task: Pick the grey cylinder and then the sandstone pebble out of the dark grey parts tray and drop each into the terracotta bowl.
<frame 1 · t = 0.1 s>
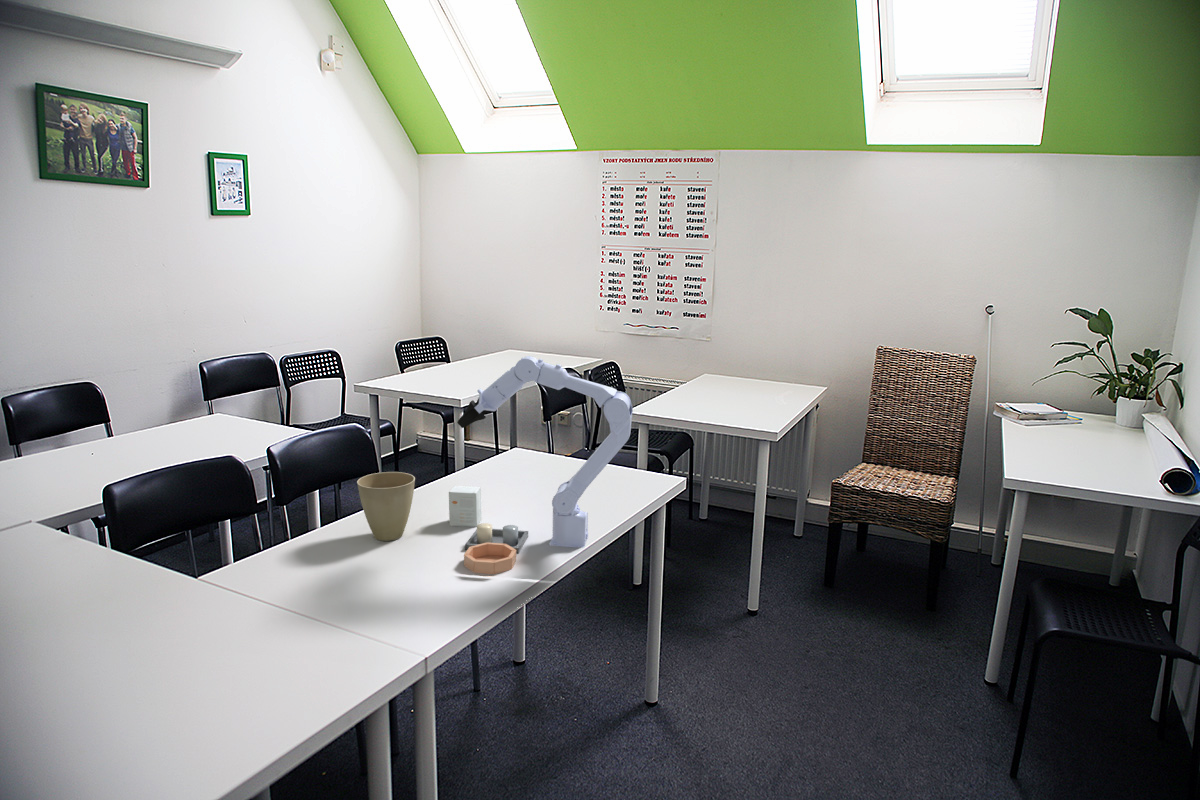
hand: (464, 421, 206), 32 cm above the table, tool tilted 50°, fingers open, 7 cm apart
tray: (497, 545, 206), on the table
plant pot: (388, 536, 211), on the table
pebble sand: (484, 542, 206), point 1 cm above the table, touching tray
small box: (465, 525, 220), on the table
bowl: (490, 565, 193), on the table
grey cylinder: (510, 543, 206), point 1 cm above the table, touching tray
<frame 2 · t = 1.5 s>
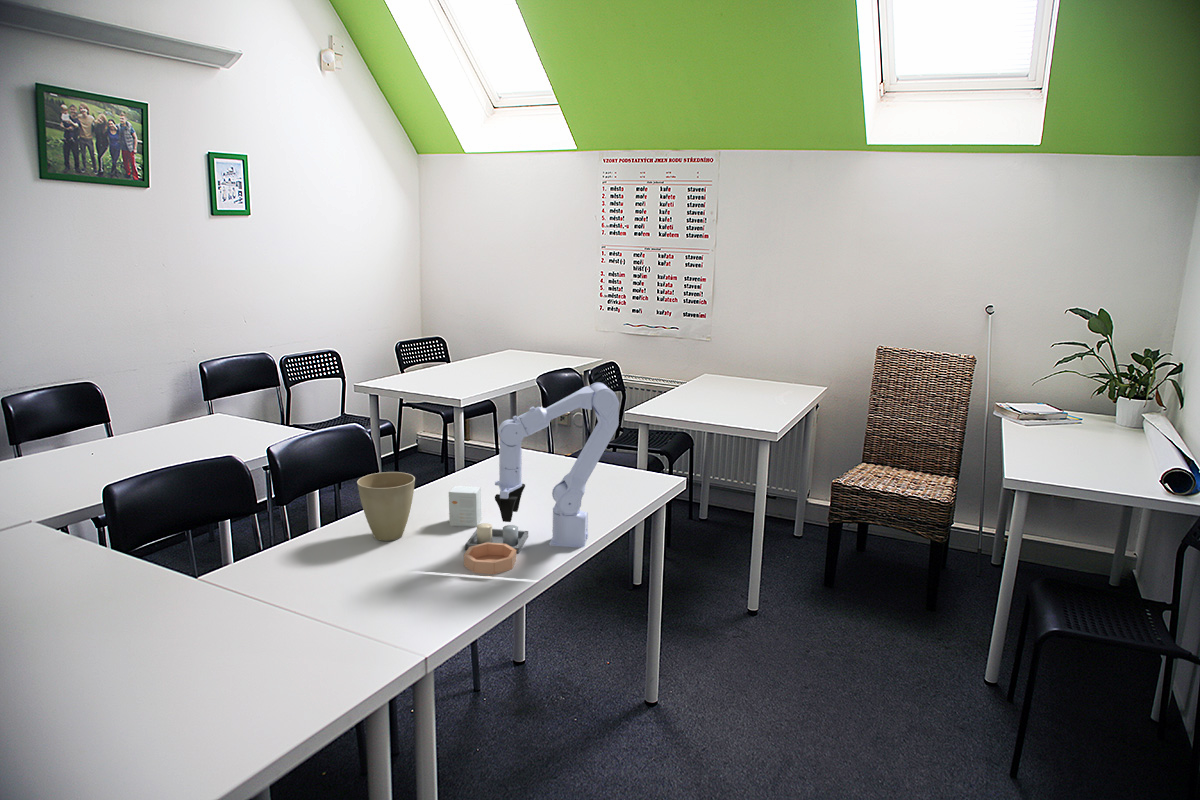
hand: (510, 516, 204), 8 cm above the table, tool pointing down, fingers open, 7 cm apart
nothing on the table moved.
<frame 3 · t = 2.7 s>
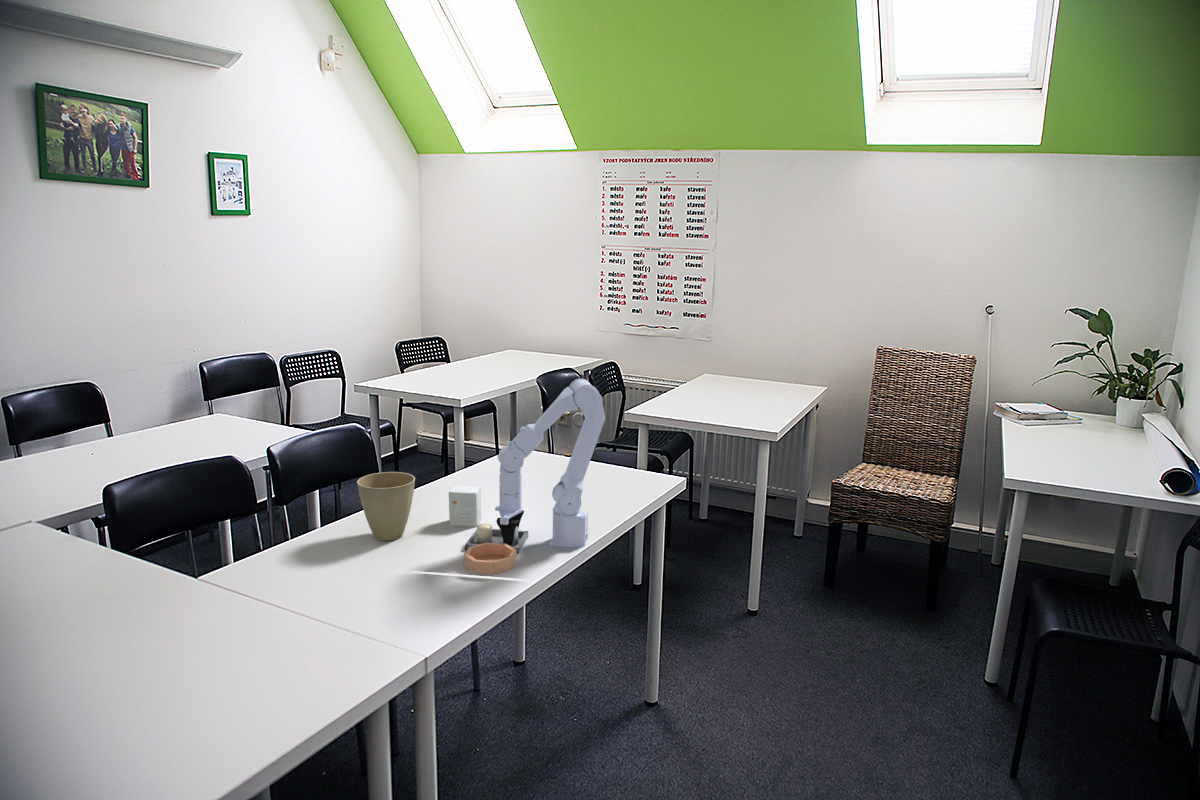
hand: (510, 541, 206), 1 cm above the table, tool pointing down, fingers closed on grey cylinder, 4 cm apart
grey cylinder: (510, 543, 206), point 1 cm above the table, touching gripper, tray
everything else where it was.
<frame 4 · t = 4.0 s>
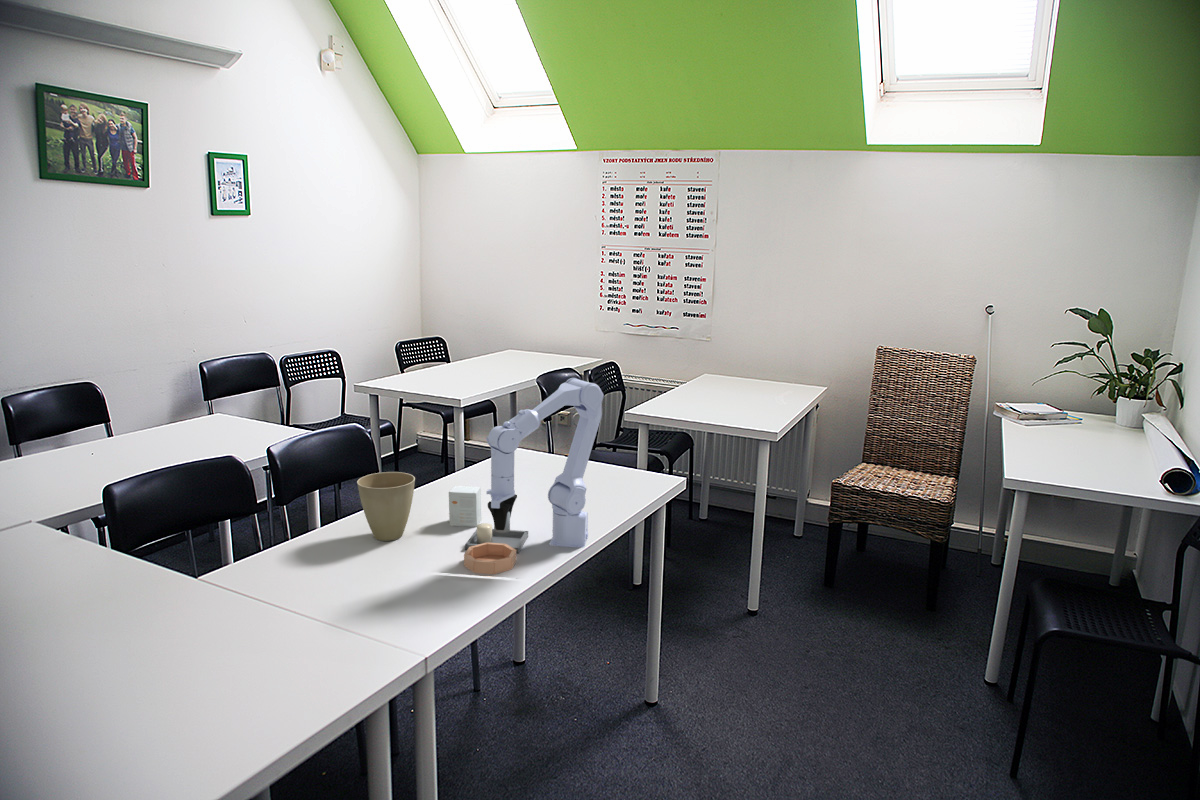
hand: (502, 526, 196), 9 cm above the table, tool pointing down, fingers closed on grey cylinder, 4 cm apart
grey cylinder: (502, 529, 197), point 8 cm above the table, touching gripper
everything else where it was.
when the fingers open (4 cm above the table, at t = 5.5 s): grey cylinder drops 3 cm, resting on bowl.
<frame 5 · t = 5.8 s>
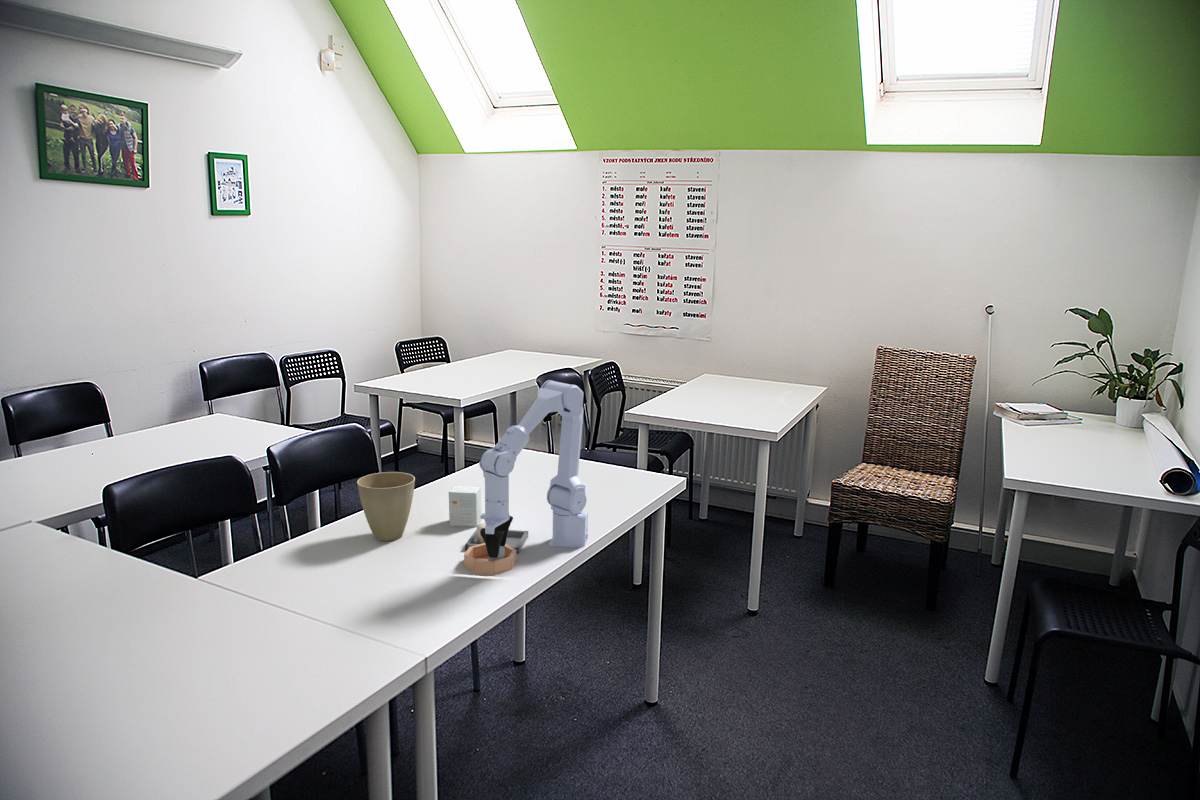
hand: (497, 551, 191), 4 cm above the table, tool pointing down, fingers open, 7 cm apart
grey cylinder: (496, 565, 192), point 1 cm above the table, touching bowl
everything else where it was.
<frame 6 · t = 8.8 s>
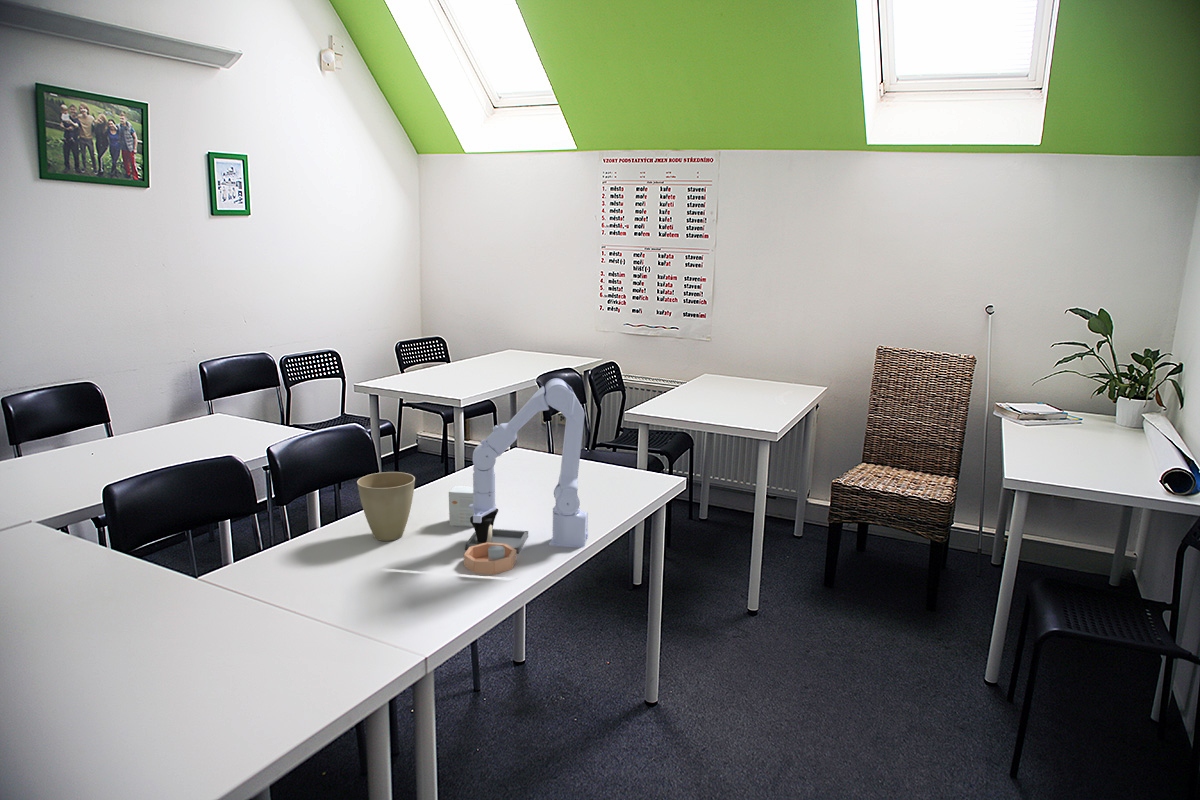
hand: (484, 539, 206), 1 cm above the table, tool pointing down, fingers closed on pebble sand, 4 cm apart
pebble sand: (484, 542, 206), point 1 cm above the table, touching gripper, tray
everything else where it was.
when the fingers open (4 cm above the table, at t = 11.4 s): pebble sand drops 3 cm, resting on bowl.
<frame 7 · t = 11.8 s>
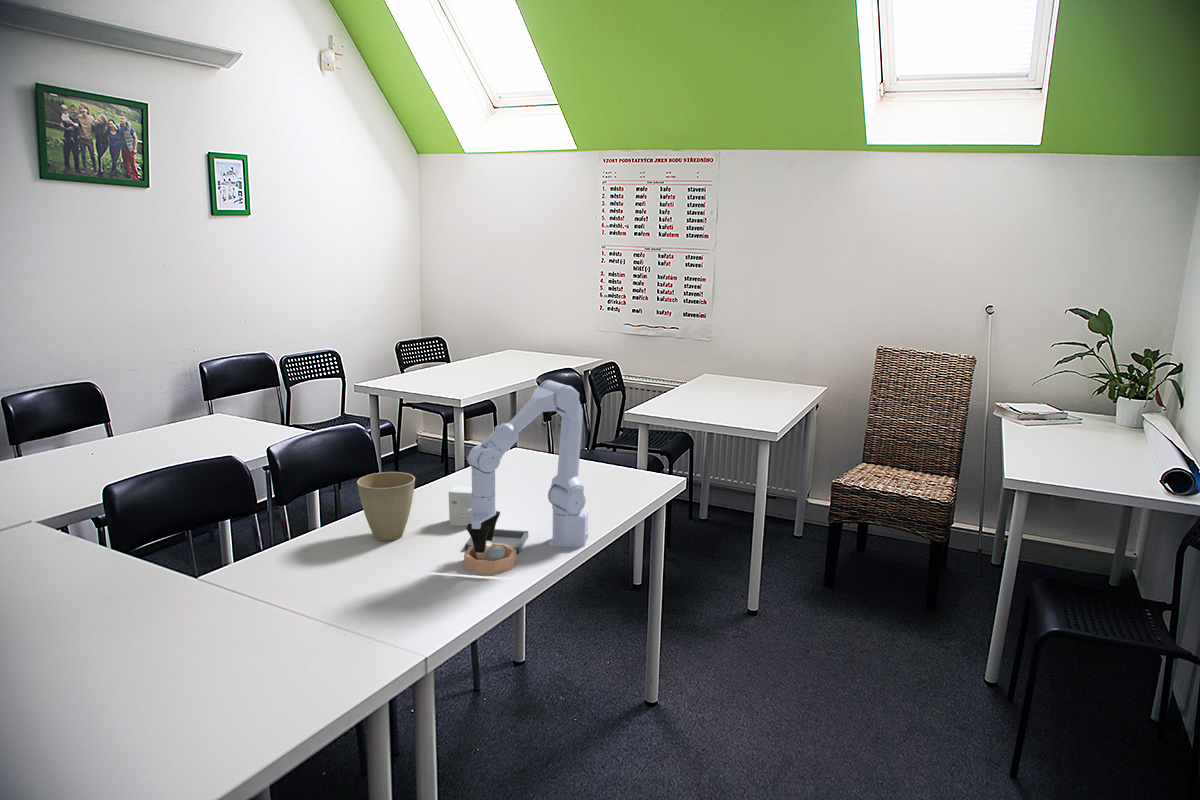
hand: (484, 546, 194), 4 cm above the table, tool pointing down, fingers open, 7 cm apart
pebble sand: (483, 560, 195), point 1 cm above the table, touching bowl
everything else where it was.
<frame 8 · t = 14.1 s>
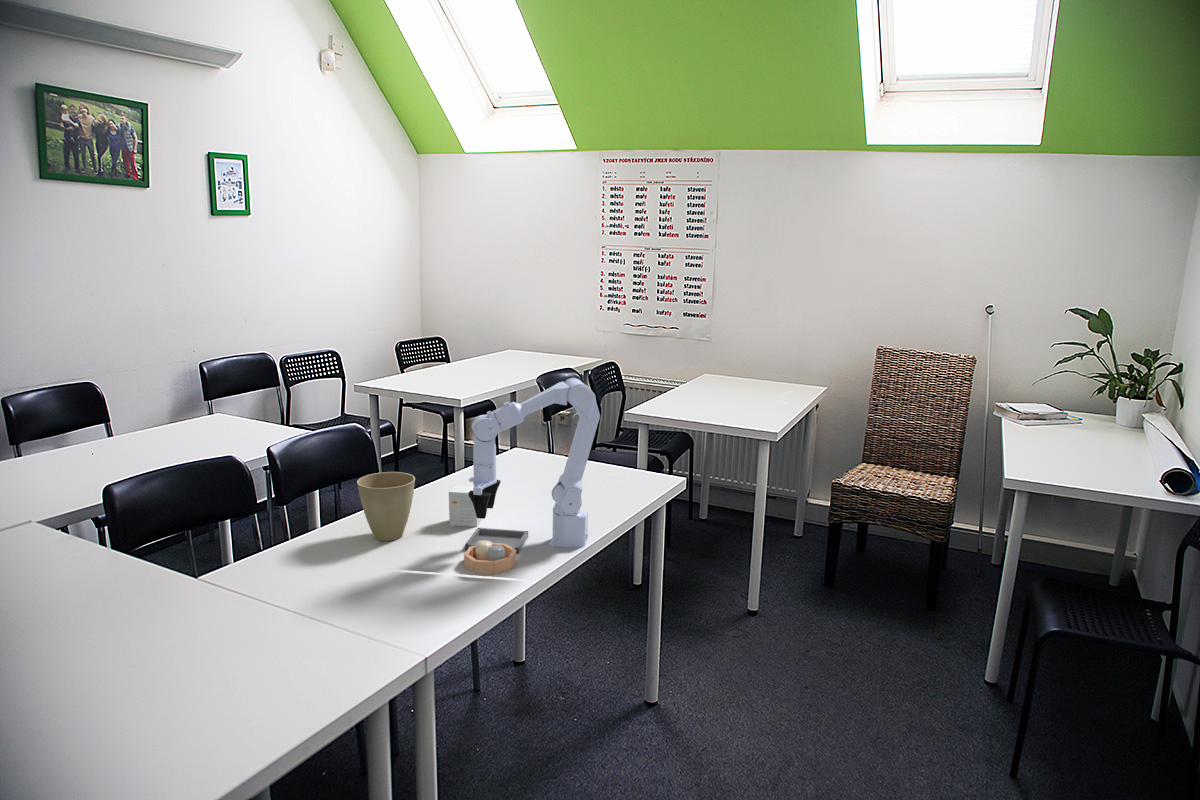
hand: (485, 512, 202), 10 cm above the table, tool pointing down, fingers open, 7 cm apart
nothing on the table moved.
at the end: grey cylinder inside the target area on the bowl (2.2 cm from its centre), point 0.6 cm above the bowl's base; pebble sand inside the target area on the bowl (2.5 cm from its centre), point 0.6 cm above the bowl's base; the gripper is holding nothing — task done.
